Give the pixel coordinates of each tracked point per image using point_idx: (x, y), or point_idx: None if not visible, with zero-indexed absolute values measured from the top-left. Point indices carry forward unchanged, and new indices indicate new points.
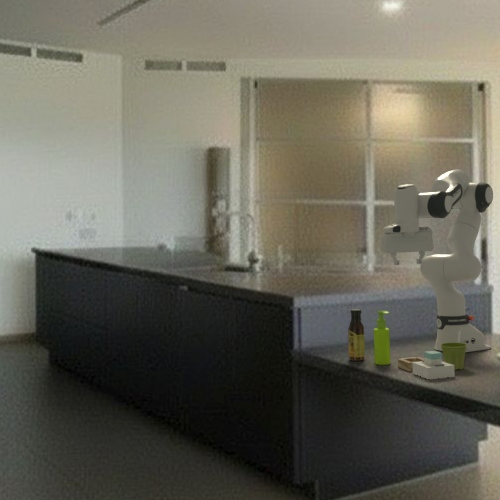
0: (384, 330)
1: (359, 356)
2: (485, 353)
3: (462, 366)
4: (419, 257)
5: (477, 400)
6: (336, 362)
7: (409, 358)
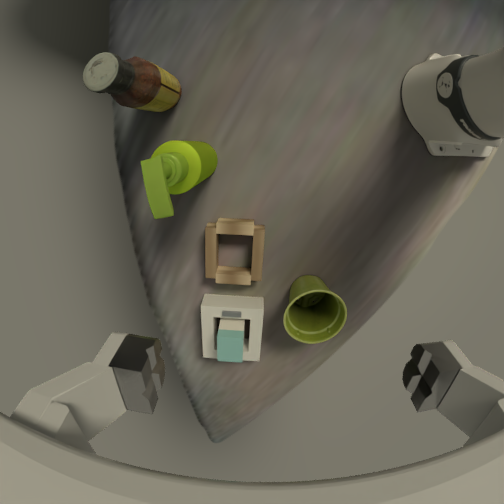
0: (173, 193)
1: (157, 111)
2: (456, 187)
3: (315, 307)
4: (469, 386)
5: (208, 433)
6: (112, 105)
7: (234, 234)
